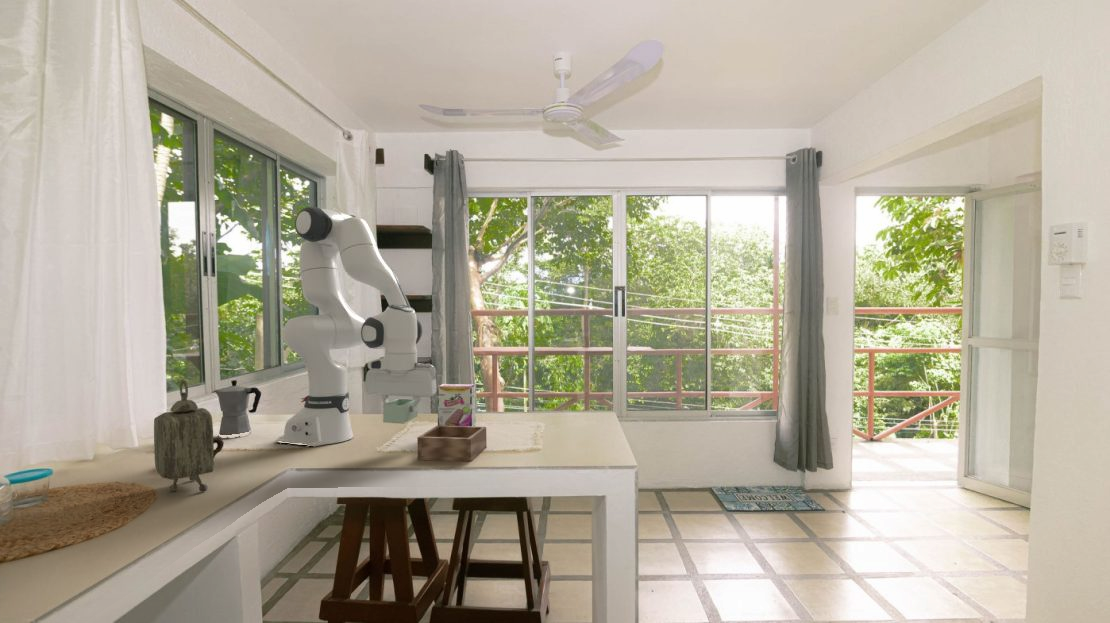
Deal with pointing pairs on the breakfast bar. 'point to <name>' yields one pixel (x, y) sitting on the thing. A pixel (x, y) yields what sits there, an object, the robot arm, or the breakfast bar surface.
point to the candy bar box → (456, 405)
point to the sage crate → (398, 411)
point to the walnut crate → (452, 443)
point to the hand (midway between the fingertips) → (400, 411)
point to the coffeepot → (236, 408)
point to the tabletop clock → (184, 442)
